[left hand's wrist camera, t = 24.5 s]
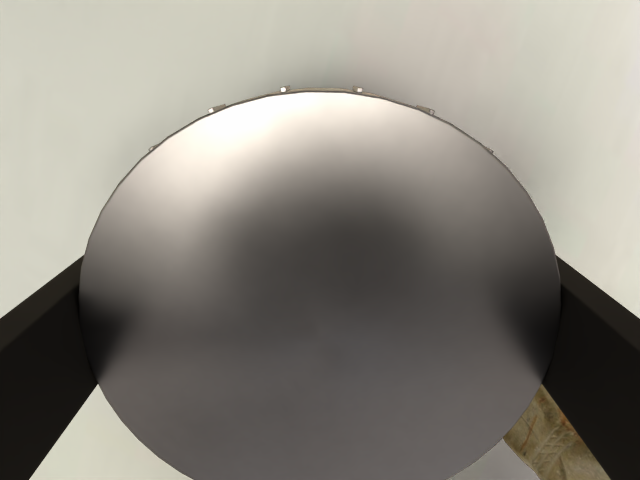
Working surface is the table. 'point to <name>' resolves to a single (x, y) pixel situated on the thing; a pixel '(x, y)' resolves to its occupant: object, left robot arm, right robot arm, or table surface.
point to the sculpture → (552, 443)
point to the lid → (319, 293)
